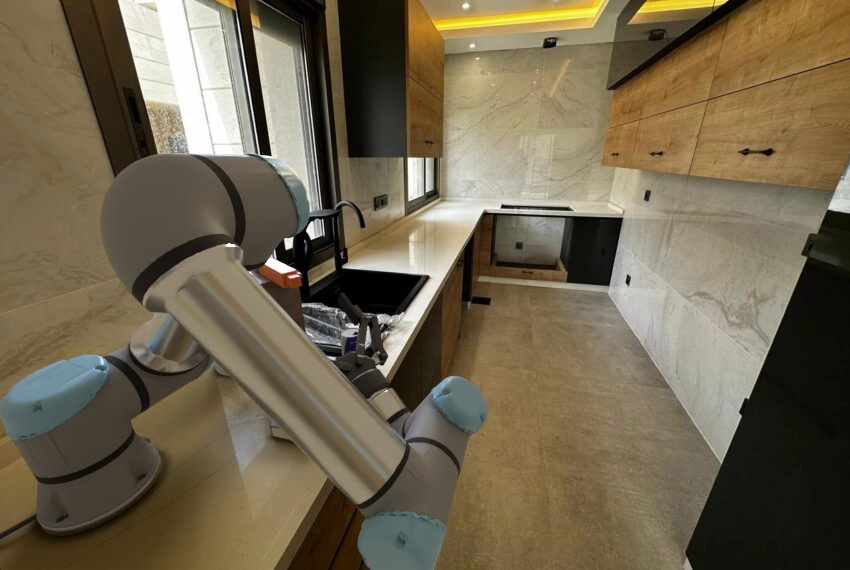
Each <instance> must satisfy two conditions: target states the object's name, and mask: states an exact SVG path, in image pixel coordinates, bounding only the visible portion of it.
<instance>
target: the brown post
mask: <svg viewBox="0 0 850 570" xmlns="http://www.w3.org/2000/svg"><path fill="white" fill-rule="evenodd" d="M249 273H250V274H251V275H252V276H253V277H254V278H255V279H256V280H257V281H258V282H259V283H260V285H261V286H262V287H263V288H264V289H265V290H266V291H267V292H268V293H269V294H270V295H271V296H272V298H273V299H274V300H275V301H276V302H277V303H278V304H279V305H280V306H281V307H282V308H283V309H284V310H285V312H286V313H287V314H288V315H289V316H290V317H291V318H292V319H293V320H294V321H295V322H296V323H297V324H298V326H299V327H300V328H301V329H302V330H303V331H304V332H305V333H306V334H307V330H306V324H305V318H304V309H303V304H302V303H303V302H302V296H301V289H300V286H299V287H295V288H291V287H287V288H283V287H281V286H280V285H278V284H276V283H275V282H273V281H271V280H270V279H268V278H266V277H265V276H263V275H261V274H259V273H257V272H256V271H252V272H249ZM297 274H298V275H299V276H301V279H303V273H301V272H300V271H298V270H297Z"/></svg>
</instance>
